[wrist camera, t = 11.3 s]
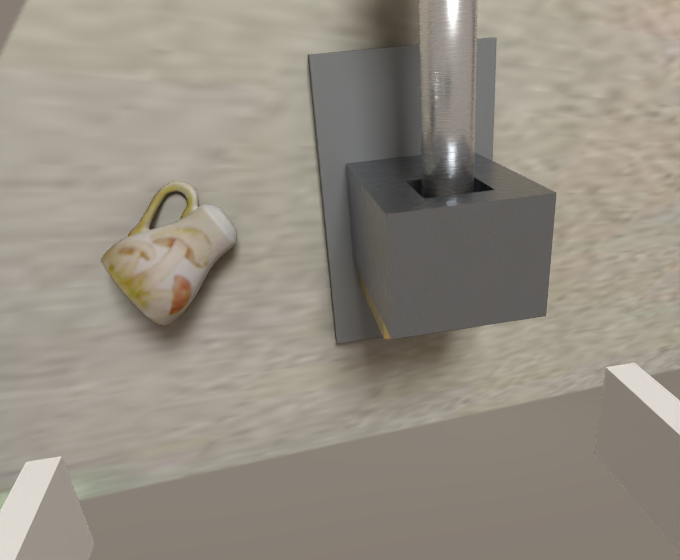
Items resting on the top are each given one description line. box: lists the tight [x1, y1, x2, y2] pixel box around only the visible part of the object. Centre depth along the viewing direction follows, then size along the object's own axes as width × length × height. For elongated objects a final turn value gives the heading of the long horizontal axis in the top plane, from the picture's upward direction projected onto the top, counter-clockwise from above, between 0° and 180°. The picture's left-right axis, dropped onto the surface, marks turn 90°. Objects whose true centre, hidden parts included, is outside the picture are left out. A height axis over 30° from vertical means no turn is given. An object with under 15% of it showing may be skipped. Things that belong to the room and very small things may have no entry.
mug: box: [101, 182, 237, 326], centre depth 42 cm, size 8×10×10 cm
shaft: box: [418, 0, 478, 199], centre depth 32 cm, size 5×24×5 cm, turn 5°
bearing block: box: [346, 152, 556, 339], centre depth 39 cm, size 10×8×15 cm
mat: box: [308, 38, 497, 344], centre depth 45 cm, size 14×24×1 cm, turn 5°
